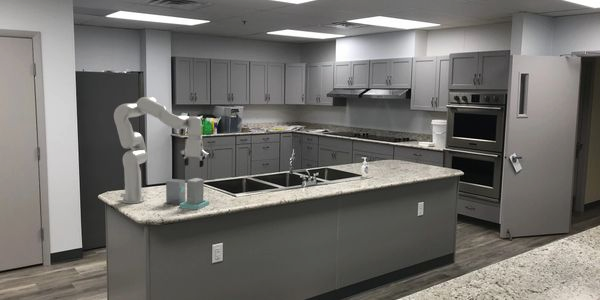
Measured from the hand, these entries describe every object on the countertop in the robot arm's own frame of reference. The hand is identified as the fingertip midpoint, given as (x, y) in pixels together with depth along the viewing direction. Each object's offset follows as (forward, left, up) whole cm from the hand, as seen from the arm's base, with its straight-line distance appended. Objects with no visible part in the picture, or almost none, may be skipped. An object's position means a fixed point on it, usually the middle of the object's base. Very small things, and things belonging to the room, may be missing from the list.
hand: (193, 166), depth 288 cm
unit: (-14, +2, -24) cm, 28 cm away
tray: (0, 0, -24) cm, 24 cm away
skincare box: (+1, 0, -24) cm, 24 cm away
